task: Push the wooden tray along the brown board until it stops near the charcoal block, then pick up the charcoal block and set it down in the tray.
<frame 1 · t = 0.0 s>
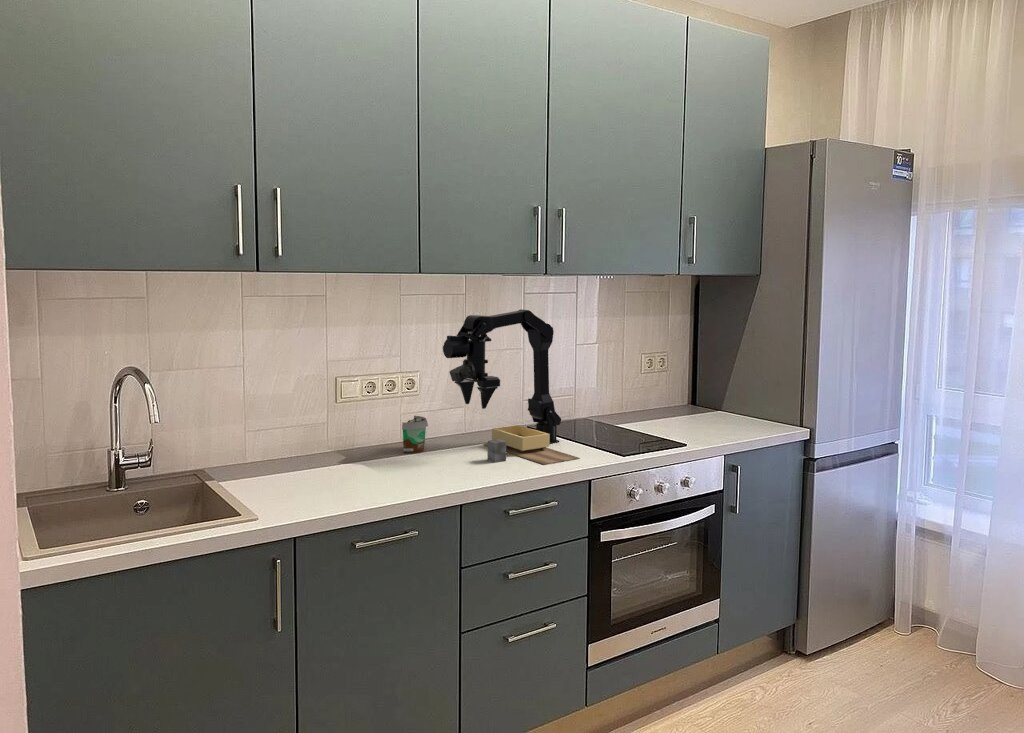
hand: (475, 406, 260), 15 cm above the worktop, fingers open, 9 cm apart
brown board: (529, 451, 264), on the worktop
wooden tray: (520, 439, 268), point 3 cm above the worktop, slide at 0.0 cm
charcoal block: (496, 460, 252), on the worktop
food container: (417, 451, 263), on the worktop
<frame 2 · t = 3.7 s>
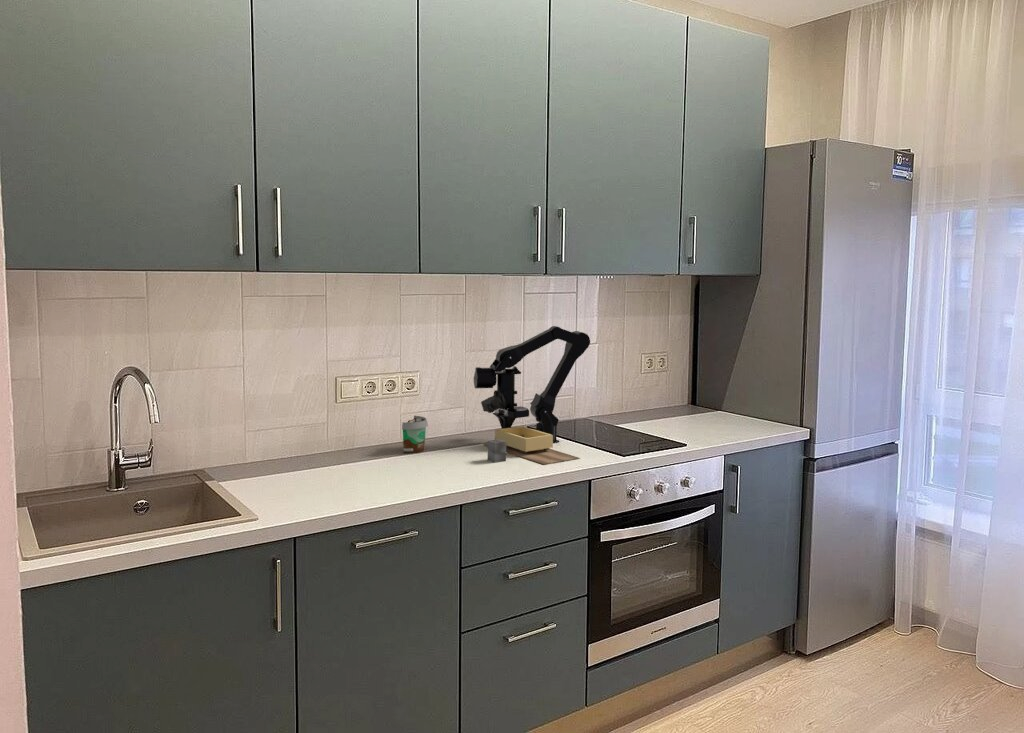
hand: (505, 434, 275), 3 cm above the worktop, fingers closed
wooden tray: (523, 440, 267), point 3 cm above the worktop, slide at 1.7 cm, touching gripper
everything else where it was.
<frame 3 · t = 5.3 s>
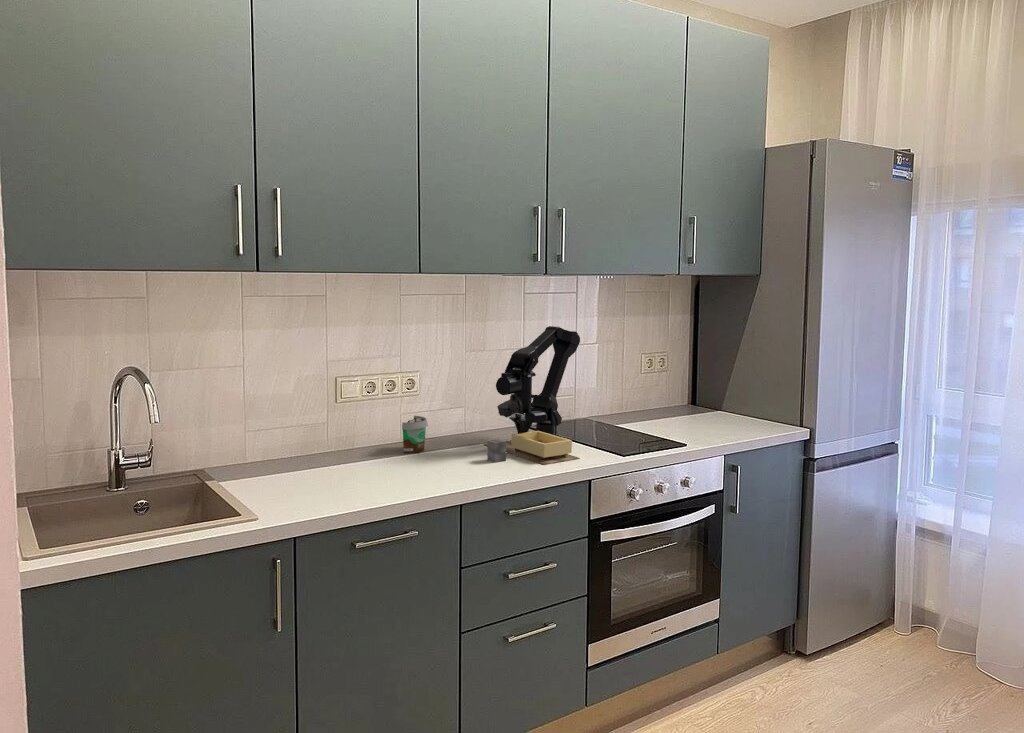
hand: (521, 439, 267), 3 cm above the worktop, fingers closed
wooden tray: (541, 445, 259), point 3 cm above the worktop, slide at 10.8 cm, touching gripper
everything else where it was.
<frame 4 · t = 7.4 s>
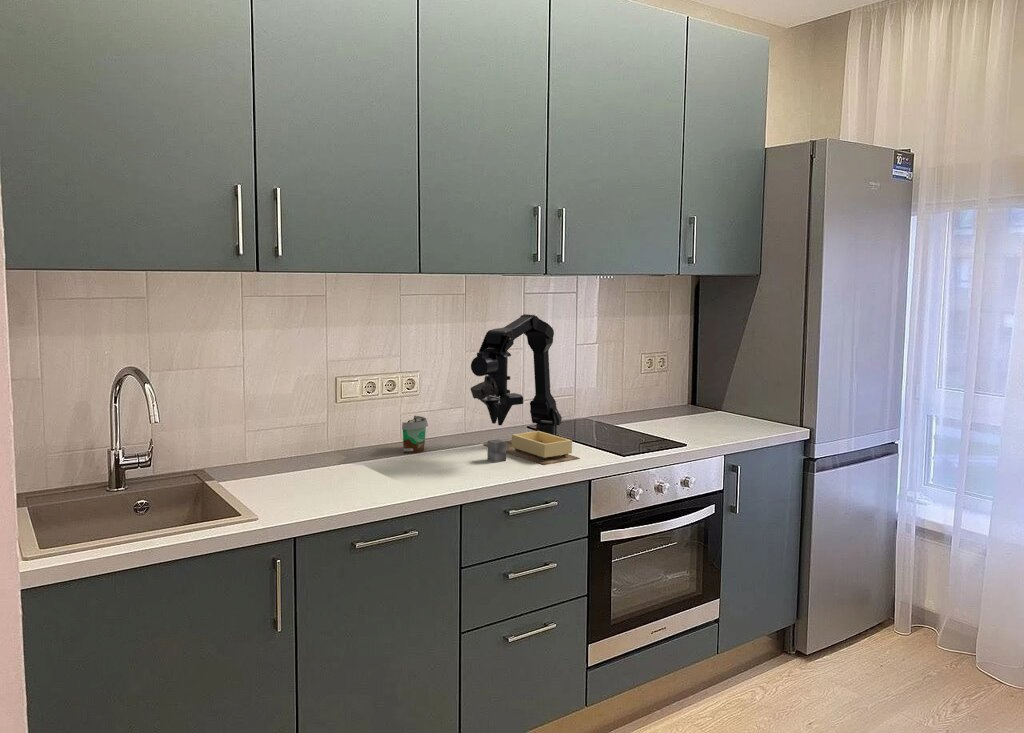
hand: (497, 424, 251), 11 cm above the worktop, fingers open, 3 cm apart
wooden tray: (541, 445, 259), point 3 cm above the worktop, slide at 10.9 cm
everything else where it was.
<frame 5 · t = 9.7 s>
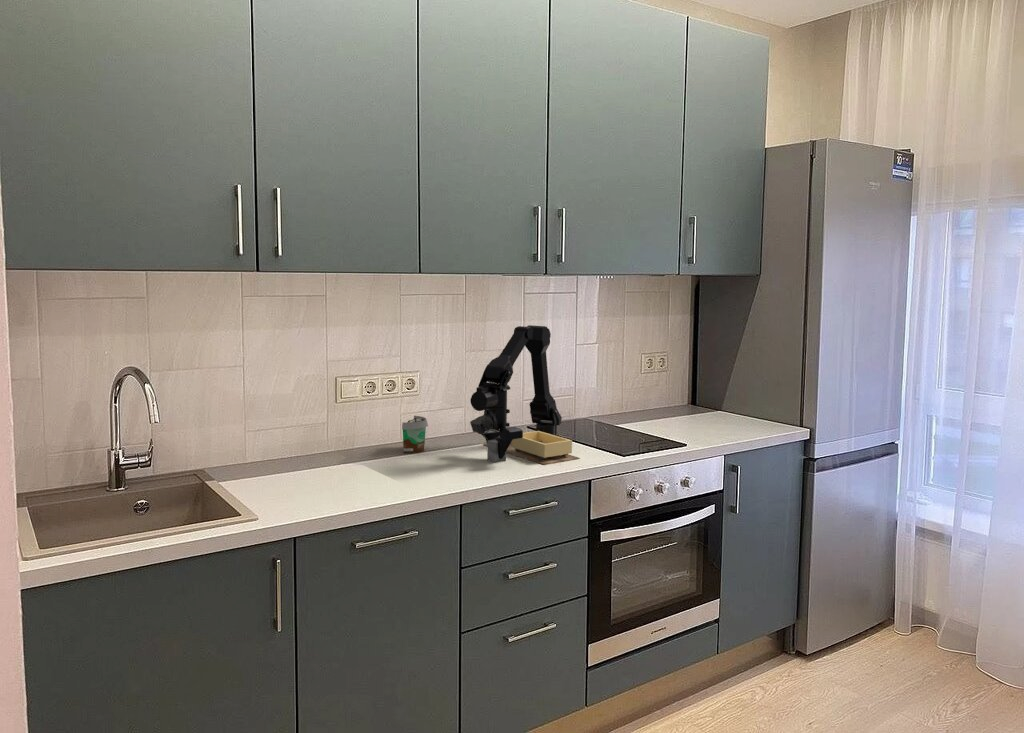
hand: (496, 457, 252), 1 cm above the worktop, fingers closed on charcoal block, 4 cm apart
charcoal block: (496, 460, 252), on the worktop, touching gripper
everything else where it was.
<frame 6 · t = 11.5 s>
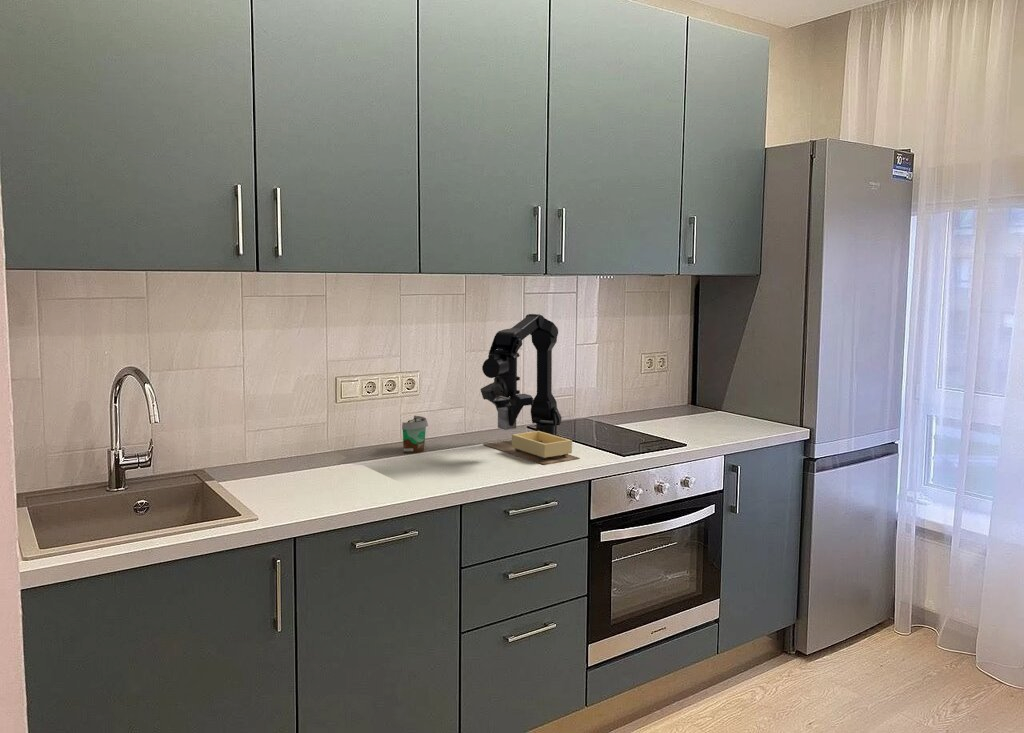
hand: (507, 424, 252), 11 cm above the worktop, fingers closed on charcoal block, 4 cm apart
charcoal block: (506, 428, 253), point 10 cm above the worktop, touching gripper
everything else where it was.
when the fingers open (5 cm above the worktop, at t = 13.6 s): charcoal block drops 2 cm, resting on wooden tray.
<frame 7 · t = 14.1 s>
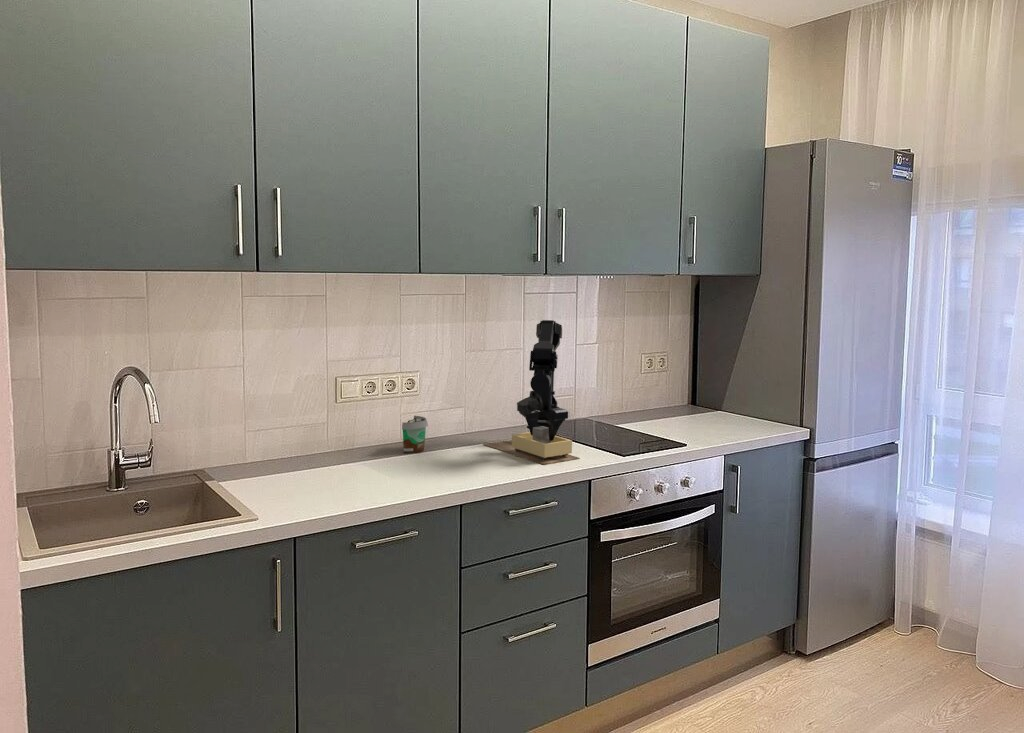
hand: (541, 437, 259), 5 cm above the worktop, fingers open, 9 cm apart
wooden tray: (541, 445, 259), point 3 cm above the worktop, slide at 10.9 cm, touching charcoal block
charcoal block: (541, 446, 259), point 3 cm above the worktop, touching wooden tray
everything else where it was.
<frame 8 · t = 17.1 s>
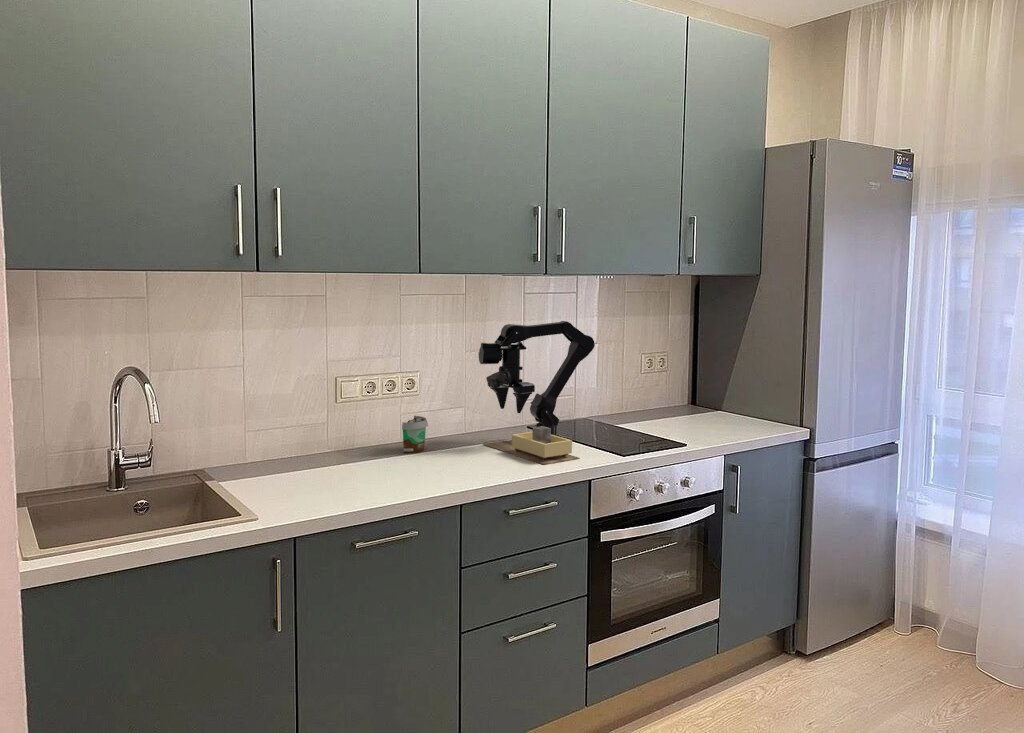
hand: (510, 410, 273), 11 cm above the worktop, fingers open, 9 cm apart
nothing on the worktop moved.
at the end: wooden tray slide at 10.9 cm; charcoal block inside the target area (0.1 cm from its centre), point 2.6 cm above the worktop; charcoal block tilted 0° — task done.
